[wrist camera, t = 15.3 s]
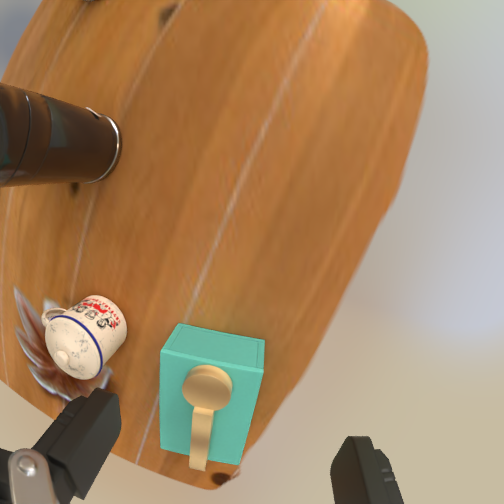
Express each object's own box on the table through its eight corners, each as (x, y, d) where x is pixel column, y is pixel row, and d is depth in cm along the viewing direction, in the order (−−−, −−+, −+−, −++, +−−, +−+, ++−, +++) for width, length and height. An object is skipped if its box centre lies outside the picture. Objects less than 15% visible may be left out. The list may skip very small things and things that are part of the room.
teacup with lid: (134, 309, 39) (93, 350, 27) (124, 358, 41) (88, 403, 29) (67, 274, 38) (16, 301, 27) (62, 323, 40) (18, 357, 29)
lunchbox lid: (239, 461, 36) (238, 465, 35) (161, 444, 36) (160, 448, 35) (263, 368, 32) (263, 372, 31) (162, 347, 32) (160, 351, 31)
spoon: (219, 458, 35) (216, 473, 32) (182, 450, 35) (177, 465, 32) (235, 369, 31) (232, 385, 28) (187, 359, 31) (180, 375, 28)
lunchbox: (243, 428, 42) (239, 459, 36) (173, 414, 42) (161, 442, 36) (264, 339, 38) (263, 368, 32) (178, 322, 39) (162, 347, 32)
